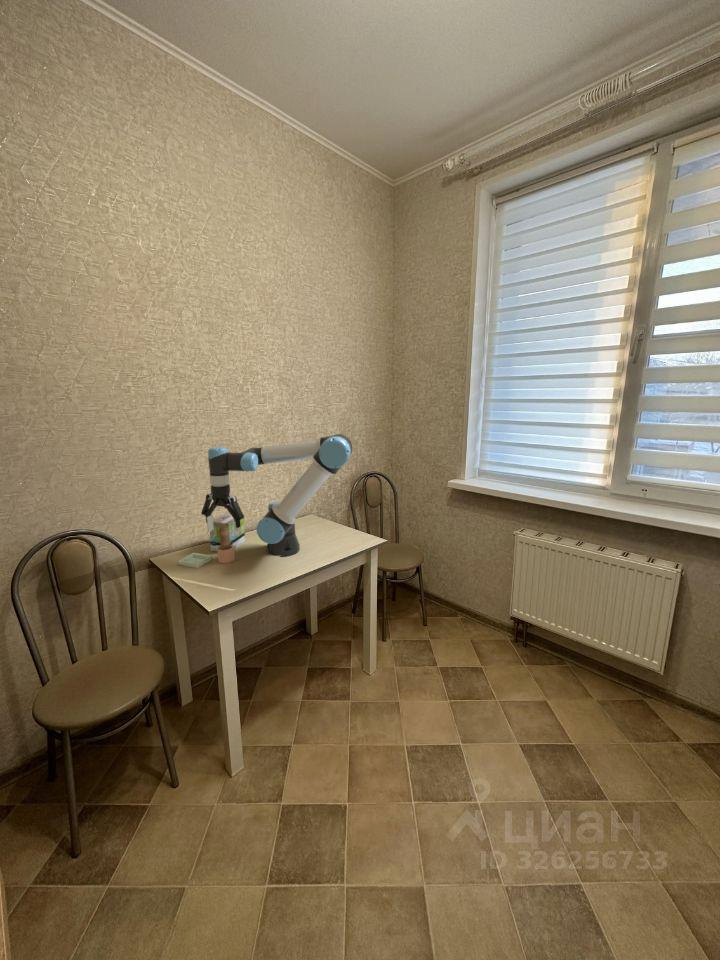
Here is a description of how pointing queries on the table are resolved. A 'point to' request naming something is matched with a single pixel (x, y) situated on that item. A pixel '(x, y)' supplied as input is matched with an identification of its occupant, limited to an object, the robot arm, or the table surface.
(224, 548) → the dowel
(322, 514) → the table surface
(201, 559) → the tray
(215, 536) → the tea box
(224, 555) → the cup
